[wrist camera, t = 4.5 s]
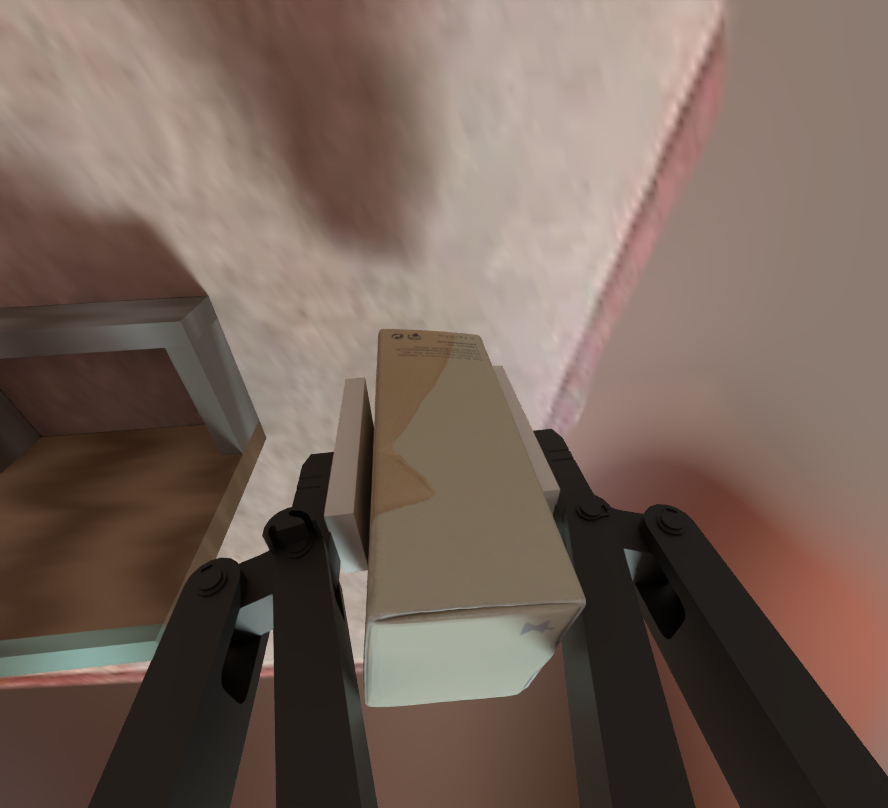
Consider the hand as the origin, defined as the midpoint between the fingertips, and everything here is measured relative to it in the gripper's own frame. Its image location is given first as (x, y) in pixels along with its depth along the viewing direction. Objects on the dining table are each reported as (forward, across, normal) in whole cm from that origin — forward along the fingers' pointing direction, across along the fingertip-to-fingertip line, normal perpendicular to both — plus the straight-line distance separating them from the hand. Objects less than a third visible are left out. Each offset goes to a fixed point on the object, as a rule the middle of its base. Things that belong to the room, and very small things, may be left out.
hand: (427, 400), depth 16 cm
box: (+2, 0, 0) cm, 2 cm away
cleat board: (+7, -17, -2) cm, 19 cm away
